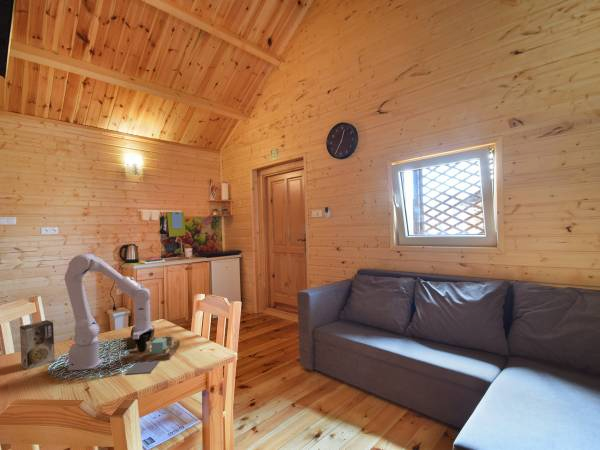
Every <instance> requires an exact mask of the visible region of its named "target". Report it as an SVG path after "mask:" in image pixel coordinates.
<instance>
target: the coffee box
mask: <svg viewBox="0 0 600 450" xmlns="http://www.w3.org/2000/svg"><path fill="white" fill-rule="evenodd" d="M19 333H20V334H19V336H20V363H21V364H20V365H21V366H20V367H22V368H24V369H25V370H31V369H33V368H36V367H39V366H42V365H45V364H48V363H52V362H55V360H56V356H55V338H54V337H55V333H54V322H53V321H50V320H48V319H45V320H41V321H36V322H32V323H28V324H25V325H21V326H19Z"/></svg>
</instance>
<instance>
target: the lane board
mask: <svg viewBox="0 0 600 450" xmlns="http://www.w3.org/2000/svg"><path fill="white" fill-rule="evenodd" d="M180 342H181V341H180V340H176V341H174V345H173V346H172V347H170V348H169V349H170V350H169V351H168V353H167V354H153V355H139V354H137V344H136V348H132V349H130V350H128V353H127V355H124V356H121V363H124V364H125V363H137V362H136V361H139V362H156V361H167V360H168V361H169V360H171V358H172V357H173V356H174V354H175V353H176V352H177V350H178V349H179V347H180V344H181V343H180ZM151 343H152V342H150V345H151ZM150 350H151V349H150Z"/></svg>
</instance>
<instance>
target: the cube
mask: <svg viewBox="0 0 600 450" xmlns="http://www.w3.org/2000/svg"><path fill="white" fill-rule="evenodd" d="M150 343H151V350H152V354H159V353H164V348H165V347H166V346H167V341H166V338H163V339H162V338H155V339H154V340H153V341H152V342H150Z"/></svg>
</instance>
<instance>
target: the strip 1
mask: <svg viewBox="0 0 600 450" xmlns="http://www.w3.org/2000/svg"><path fill="white" fill-rule="evenodd" d="M150 343H151V341H146V349H145V352H139V350H138V347H137V354H139V355H153V354H152V350H150ZM169 350H170V349H169V346H166V347H165V348H164V353H159V354H167V353H168V351H169Z"/></svg>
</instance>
